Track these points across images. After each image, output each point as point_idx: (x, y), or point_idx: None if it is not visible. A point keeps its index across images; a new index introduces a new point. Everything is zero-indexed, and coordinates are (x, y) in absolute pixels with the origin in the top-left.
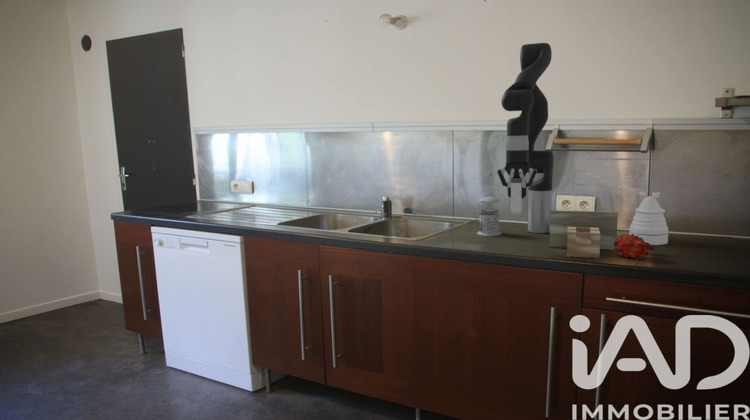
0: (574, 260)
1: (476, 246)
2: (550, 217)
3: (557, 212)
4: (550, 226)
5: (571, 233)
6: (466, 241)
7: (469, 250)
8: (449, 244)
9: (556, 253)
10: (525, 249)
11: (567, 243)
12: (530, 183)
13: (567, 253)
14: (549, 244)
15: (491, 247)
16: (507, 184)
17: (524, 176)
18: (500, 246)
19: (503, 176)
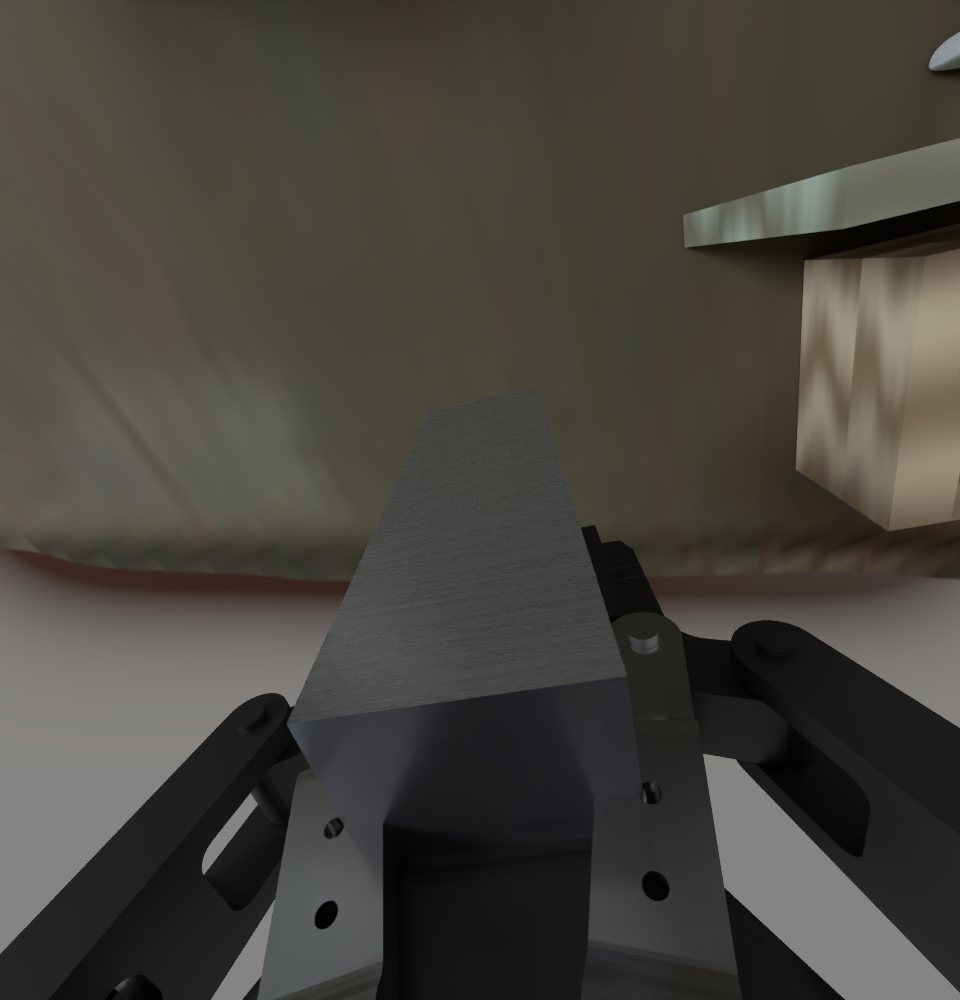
0: (829, 535)
1: (274, 435)
2: (803, 231)
3: (926, 208)
4: (757, 238)
5: (912, 522)
6: (134, 317)
7: (299, 537)
8: (118, 448)
9: (739, 423)
10: (554, 394)
11: (841, 498)
12: (801, 767)
13: (807, 474)
14: (690, 246)
15: (360, 424)
16: None
17: (709, 830)
18: (393, 375)
19: (175, 943)
